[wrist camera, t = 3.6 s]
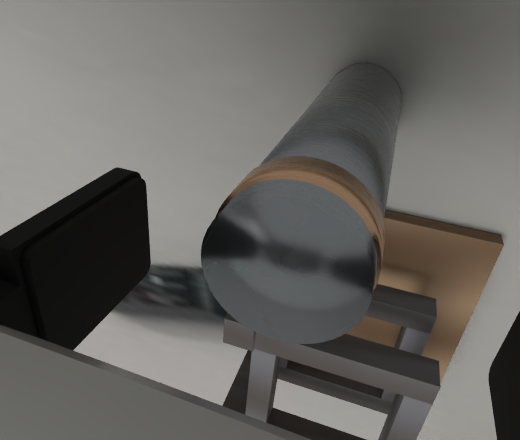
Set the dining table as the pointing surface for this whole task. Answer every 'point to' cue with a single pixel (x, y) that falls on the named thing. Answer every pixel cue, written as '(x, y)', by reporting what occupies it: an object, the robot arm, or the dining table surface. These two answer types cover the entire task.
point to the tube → (311, 217)
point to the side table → (378, 335)
